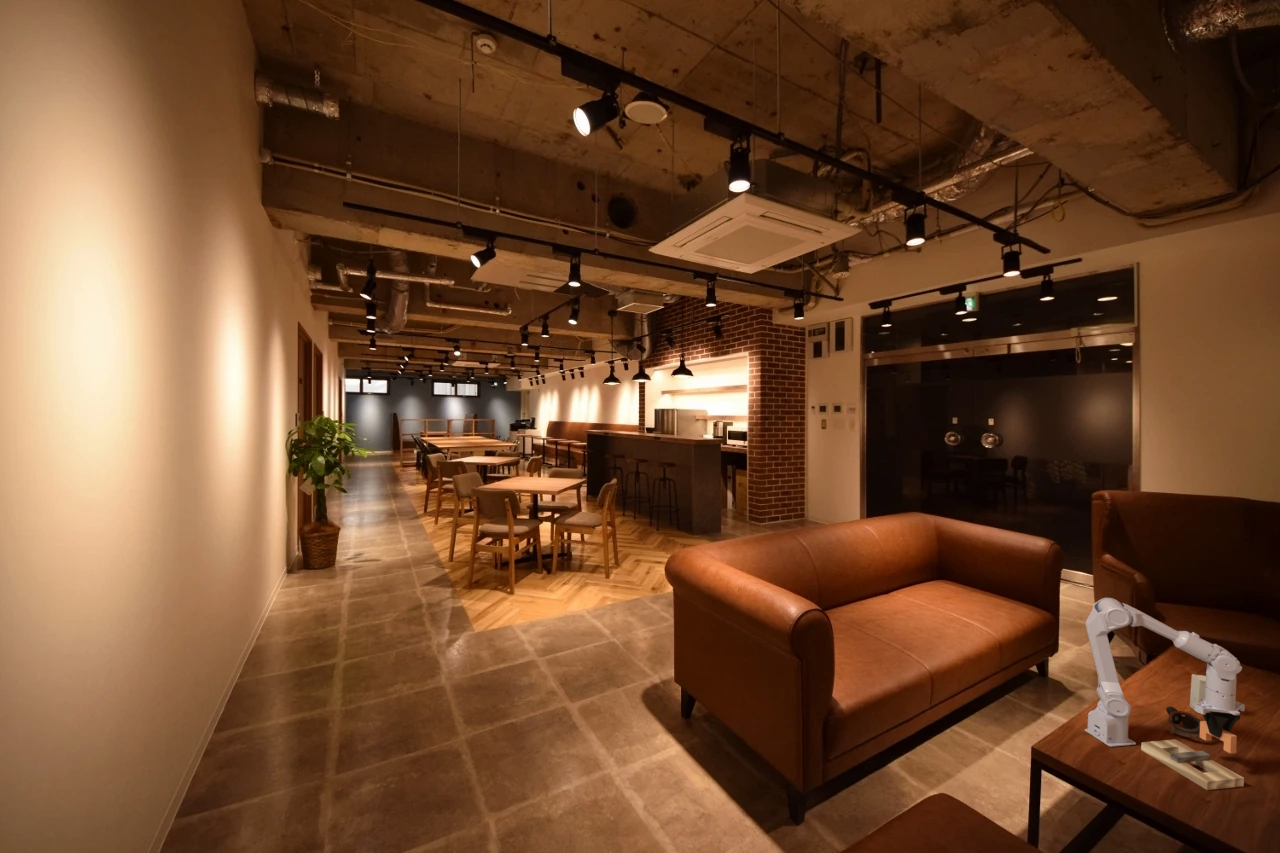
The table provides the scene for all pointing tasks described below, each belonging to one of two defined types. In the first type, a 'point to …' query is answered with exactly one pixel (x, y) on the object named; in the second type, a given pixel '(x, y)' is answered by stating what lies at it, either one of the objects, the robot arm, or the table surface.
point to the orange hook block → (1226, 736)
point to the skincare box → (1197, 690)
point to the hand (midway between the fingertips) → (1218, 734)
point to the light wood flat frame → (1179, 753)
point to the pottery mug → (1189, 723)
